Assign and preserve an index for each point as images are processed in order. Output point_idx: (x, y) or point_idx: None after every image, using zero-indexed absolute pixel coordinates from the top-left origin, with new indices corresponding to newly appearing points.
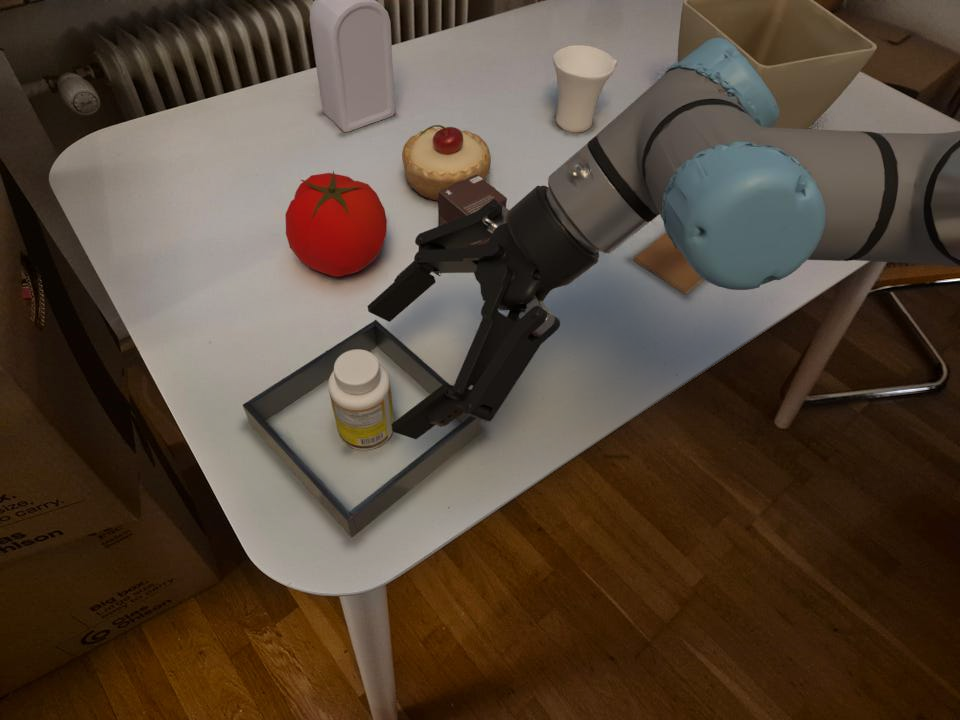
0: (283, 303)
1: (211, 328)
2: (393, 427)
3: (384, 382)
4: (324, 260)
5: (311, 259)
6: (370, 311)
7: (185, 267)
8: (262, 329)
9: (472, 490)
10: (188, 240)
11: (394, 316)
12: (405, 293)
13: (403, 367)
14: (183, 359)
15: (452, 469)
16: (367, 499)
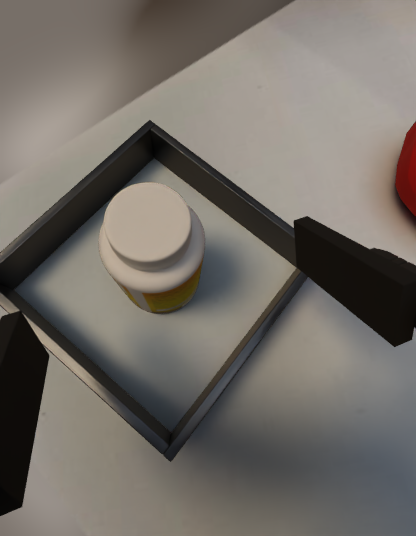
0: (336, 144)
1: (279, 83)
2: (9, 316)
3: (149, 281)
4: (410, 156)
5: (408, 144)
6: (295, 224)
7: (357, 40)
8: (290, 131)
9: (71, 446)
10: (396, 34)
11: (305, 272)
12: (345, 279)
13: (265, 309)
14: (231, 69)
15: (105, 409)
16: (3, 298)
